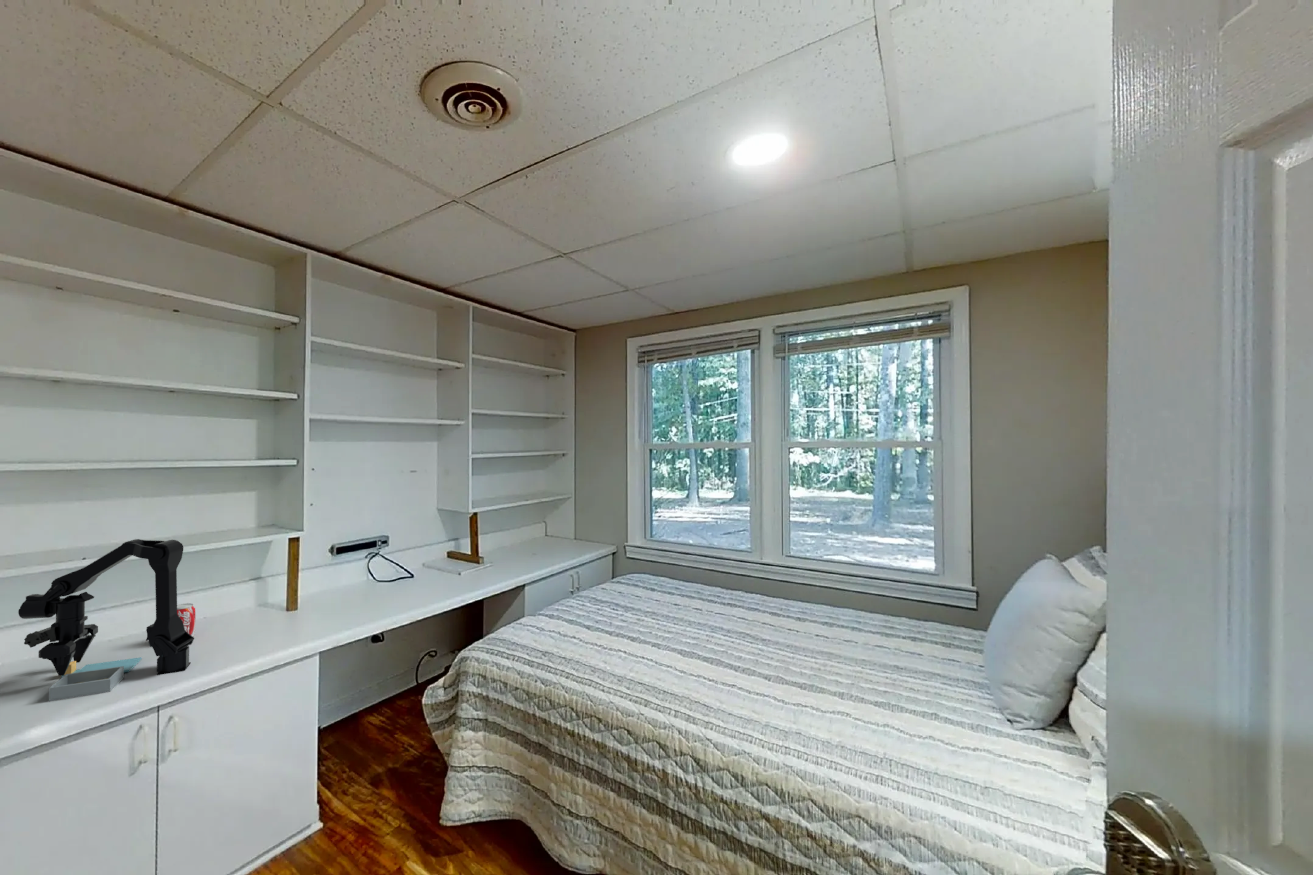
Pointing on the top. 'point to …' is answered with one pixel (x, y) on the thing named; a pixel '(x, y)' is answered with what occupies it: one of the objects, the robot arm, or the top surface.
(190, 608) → the soda can
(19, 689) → the top surface
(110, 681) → the tub
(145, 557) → the robot arm
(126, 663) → the lid
